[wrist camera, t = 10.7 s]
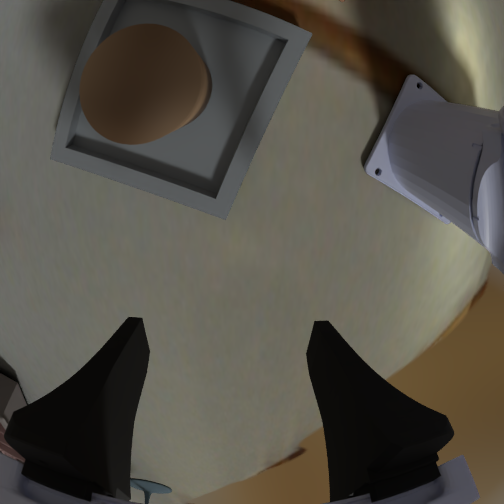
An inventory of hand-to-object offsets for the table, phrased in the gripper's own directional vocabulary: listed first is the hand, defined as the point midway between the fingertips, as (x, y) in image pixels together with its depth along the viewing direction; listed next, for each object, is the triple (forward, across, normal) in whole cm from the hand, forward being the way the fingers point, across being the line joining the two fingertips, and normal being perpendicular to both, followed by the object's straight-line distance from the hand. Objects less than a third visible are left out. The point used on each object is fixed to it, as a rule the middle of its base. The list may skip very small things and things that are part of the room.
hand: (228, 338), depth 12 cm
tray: (+9, +4, -10) cm, 14 cm away
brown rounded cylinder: (+8, +4, -10) cm, 14 cm away
